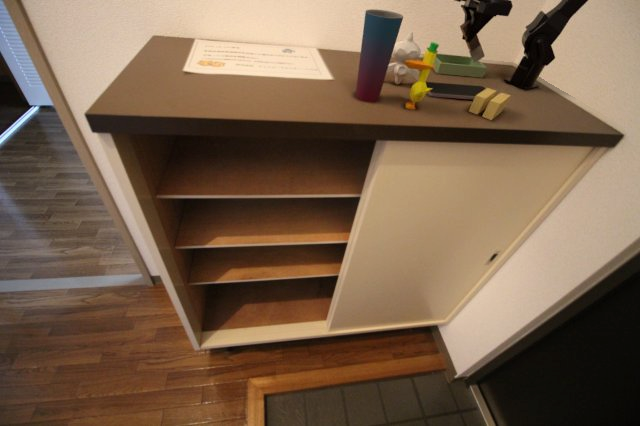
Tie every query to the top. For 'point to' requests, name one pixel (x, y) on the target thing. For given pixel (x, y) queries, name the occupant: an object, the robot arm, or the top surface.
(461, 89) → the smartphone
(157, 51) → the top surface
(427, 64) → the toy figure
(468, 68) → the tray
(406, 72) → the figurine
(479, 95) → the butter
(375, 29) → the cup
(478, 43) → the knife
